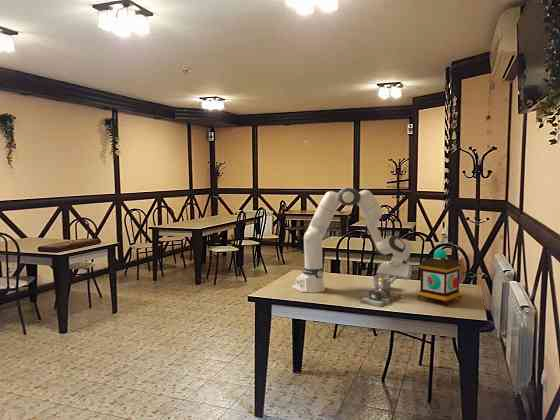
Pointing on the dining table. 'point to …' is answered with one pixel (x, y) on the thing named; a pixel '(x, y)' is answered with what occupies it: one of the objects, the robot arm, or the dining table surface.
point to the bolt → (379, 288)
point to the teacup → (385, 284)
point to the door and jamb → (380, 298)
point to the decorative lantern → (440, 278)
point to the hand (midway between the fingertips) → (389, 282)
